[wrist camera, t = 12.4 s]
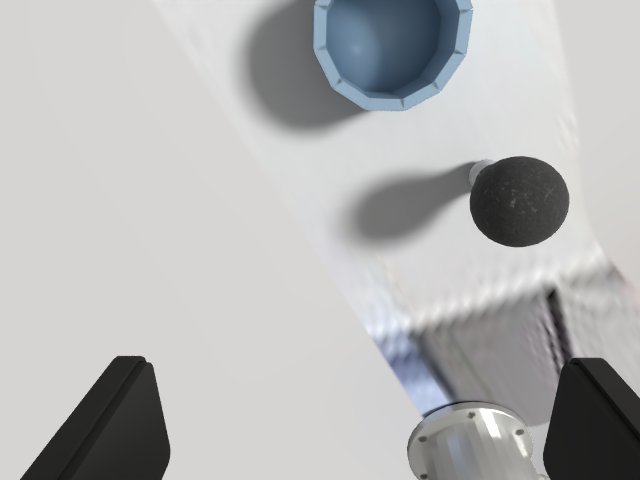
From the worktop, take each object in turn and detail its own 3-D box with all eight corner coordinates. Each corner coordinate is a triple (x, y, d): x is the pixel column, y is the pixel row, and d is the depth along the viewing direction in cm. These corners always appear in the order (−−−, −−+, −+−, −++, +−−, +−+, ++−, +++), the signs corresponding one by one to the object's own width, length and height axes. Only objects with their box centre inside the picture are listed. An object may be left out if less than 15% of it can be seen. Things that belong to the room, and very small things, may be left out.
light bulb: (431, 190, 34) (468, 243, 25) (468, 123, 32) (522, 154, 23) (493, 216, 35) (550, 276, 26) (533, 152, 33) (610, 193, 24)
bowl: (467, 61, 30) (494, 64, 25) (352, 123, 32) (356, 137, 27) (416, -75, 27) (435, -102, 22) (292, 3, 29) (283, -6, 24)
